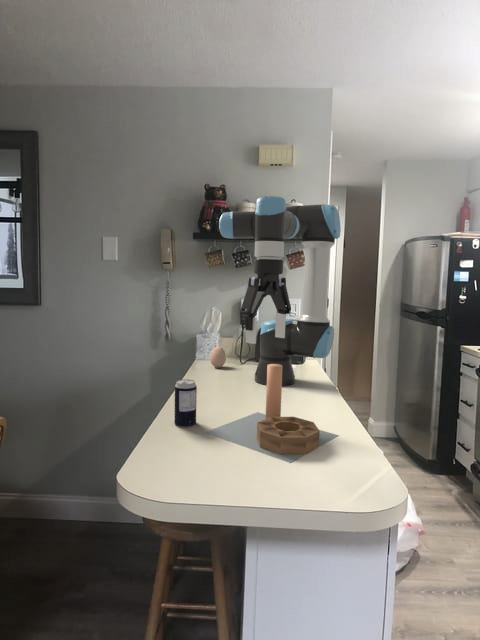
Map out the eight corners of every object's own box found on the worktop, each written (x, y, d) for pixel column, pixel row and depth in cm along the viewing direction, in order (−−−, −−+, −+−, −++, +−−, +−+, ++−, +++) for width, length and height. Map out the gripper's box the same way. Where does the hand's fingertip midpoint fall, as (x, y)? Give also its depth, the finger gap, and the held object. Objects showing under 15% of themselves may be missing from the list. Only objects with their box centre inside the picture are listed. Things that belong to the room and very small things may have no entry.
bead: (279, 427, 117) (280, 412, 117) (327, 442, 108) (328, 426, 108) (246, 442, 106) (246, 426, 106) (295, 460, 97) (296, 442, 97)
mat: (257, 414, 129) (257, 412, 129) (338, 437, 113) (339, 435, 113) (204, 434, 113) (204, 432, 112) (290, 465, 96) (290, 463, 96)
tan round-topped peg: (271, 420, 123) (273, 363, 121) (283, 423, 120) (285, 365, 118) (262, 424, 119) (264, 365, 118) (274, 427, 117) (276, 367, 115)
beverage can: (199, 423, 120) (200, 380, 119) (190, 430, 115) (190, 385, 113) (180, 421, 122) (180, 378, 121) (170, 427, 117) (171, 382, 115)
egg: (227, 366, 190) (227, 345, 189) (223, 369, 184) (223, 348, 183) (212, 365, 192) (212, 344, 191) (208, 368, 185) (208, 347, 184)
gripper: (282, 260, 127) (279, 333, 129) (226, 256, 107) (224, 343, 110) (305, 260, 122) (302, 336, 125) (252, 256, 103) (249, 347, 105)
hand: (266, 340), depth 117 cm, fingers open, 13 cm apart
